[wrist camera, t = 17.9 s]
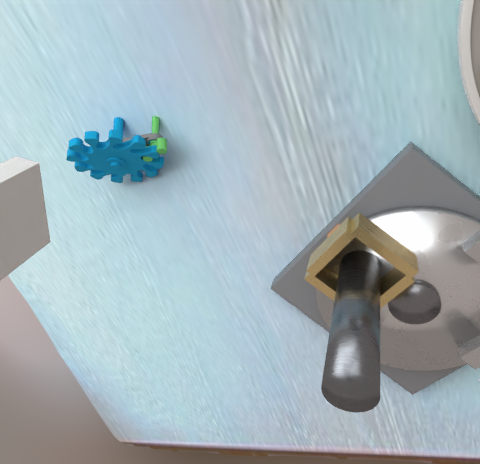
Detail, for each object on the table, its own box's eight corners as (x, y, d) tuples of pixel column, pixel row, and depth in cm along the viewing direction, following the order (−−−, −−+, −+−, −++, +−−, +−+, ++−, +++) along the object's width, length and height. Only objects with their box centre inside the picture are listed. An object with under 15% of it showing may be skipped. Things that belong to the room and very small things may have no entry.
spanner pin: (332, 268, 43) (310, 390, 30) (356, 243, 41) (344, 363, 28) (362, 289, 43) (355, 419, 30) (388, 265, 41) (392, 395, 28)
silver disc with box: (576, 292, 38) (595, 321, 35) (415, 388, 49) (418, 418, 46) (400, 157, 37) (403, 174, 34) (275, 287, 48) (267, 309, 44)
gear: (100, 192, 49) (43, 152, 40) (103, 149, 51) (49, 102, 42) (186, 178, 47) (146, 132, 38) (186, 133, 49) (147, 79, 40)
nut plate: (410, 141, 38) (412, 149, 36) (583, 280, 40) (594, 294, 38) (274, 278, 50) (270, 289, 48) (411, 381, 52) (412, 396, 50)
